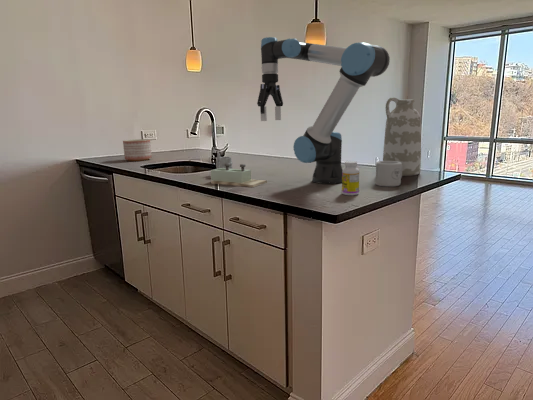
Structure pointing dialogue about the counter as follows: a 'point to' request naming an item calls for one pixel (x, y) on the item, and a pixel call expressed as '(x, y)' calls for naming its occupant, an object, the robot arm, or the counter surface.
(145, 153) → the planter
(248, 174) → the pale green block
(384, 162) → the mug
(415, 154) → the vase
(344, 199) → the counter surface
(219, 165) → the mug
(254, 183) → the board
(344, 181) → the supplement bottle
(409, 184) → the counter surface
